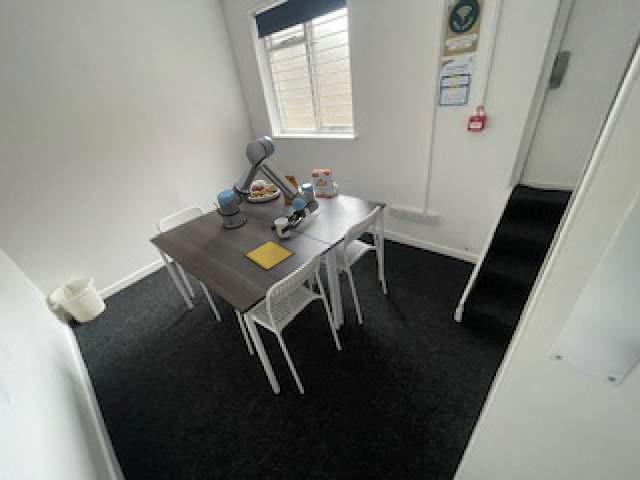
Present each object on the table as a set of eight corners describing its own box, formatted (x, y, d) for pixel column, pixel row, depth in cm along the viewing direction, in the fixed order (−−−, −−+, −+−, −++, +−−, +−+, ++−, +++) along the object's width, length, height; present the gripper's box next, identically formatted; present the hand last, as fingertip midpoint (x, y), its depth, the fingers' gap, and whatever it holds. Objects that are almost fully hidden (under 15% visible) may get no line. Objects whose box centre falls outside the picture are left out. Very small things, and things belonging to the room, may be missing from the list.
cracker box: (315, 197, 205) (311, 171, 194) (318, 194, 210) (314, 169, 199) (331, 198, 200) (328, 171, 189) (334, 195, 205) (331, 169, 193)
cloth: (245, 255, 148) (245, 255, 148) (270, 241, 158) (270, 240, 158) (266, 270, 134) (266, 269, 134) (293, 253, 144) (293, 252, 143)
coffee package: (297, 205, 197) (292, 177, 185) (283, 205, 201) (277, 178, 190) (303, 200, 204) (298, 173, 193) (288, 200, 209) (283, 173, 197)
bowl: (288, 193, 222) (286, 184, 218) (260, 207, 205) (257, 197, 201) (267, 187, 241) (265, 179, 236) (240, 199, 224) (237, 191, 220)
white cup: (285, 239, 154) (282, 225, 149) (275, 237, 158) (271, 222, 153) (293, 233, 160) (290, 218, 154) (283, 230, 164) (280, 216, 158)
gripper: (314, 221, 164) (291, 239, 149) (290, 216, 175) (266, 232, 160) (313, 211, 160) (288, 228, 145) (288, 205, 171) (263, 221, 156)
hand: (277, 230), depth 153 cm, fingers closed on white cup, 8 cm apart
